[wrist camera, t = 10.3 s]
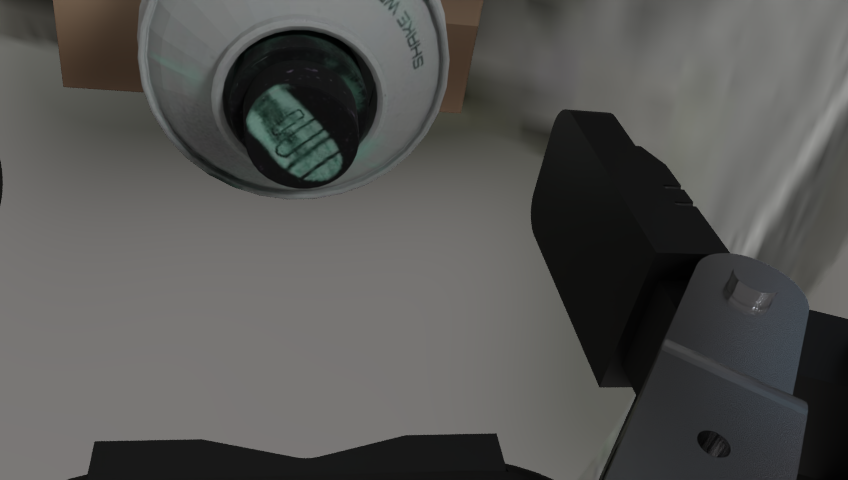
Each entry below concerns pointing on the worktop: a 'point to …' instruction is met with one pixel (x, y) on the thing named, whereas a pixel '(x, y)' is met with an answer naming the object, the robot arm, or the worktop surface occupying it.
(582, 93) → the worktop surface
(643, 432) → the robot arm
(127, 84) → the socket block
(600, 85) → the worktop surface
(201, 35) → the spray can
